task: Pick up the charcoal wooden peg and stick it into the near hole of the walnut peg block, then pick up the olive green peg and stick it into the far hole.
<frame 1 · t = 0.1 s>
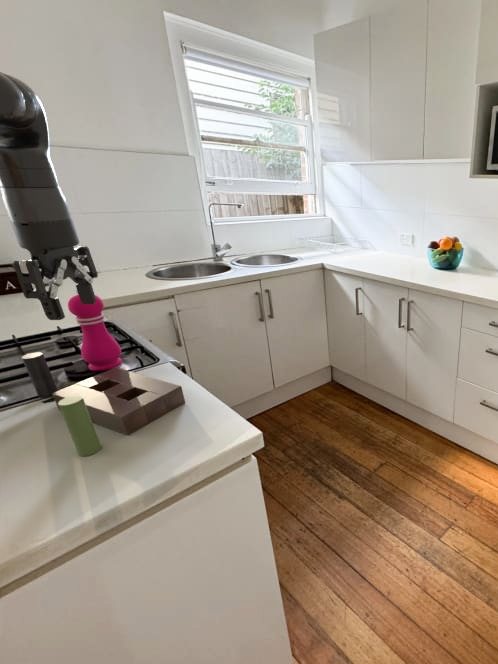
hand: (74, 311, 68), 20 cm above the worktop, tool pointing down, fingers open, 8 cm apart
charcoal peg: (50, 399, 78), on the worktop
peg block: (123, 406, 76), on the worktop
pepper mill: (107, 370, 90), on the worktop
green peg: (90, 450, 64), on the worktop
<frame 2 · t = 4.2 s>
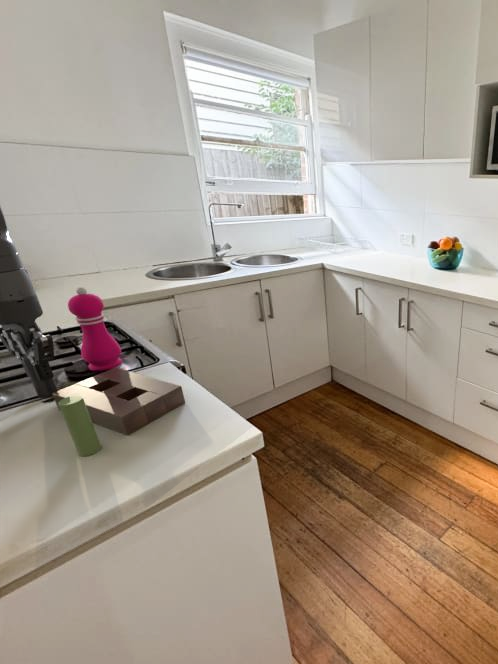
hand: (41, 377, 76), 5 cm above the worktop, tool pointing down, fingers closed on charcoal peg, 3 cm apart
charcoal peg: (50, 399, 78), on the worktop, touching gripper
everything else where it was.
when the fingers open (5 cm above the worktop, at t = 10.8 s): charcoal peg stays where it is, on the worktop.
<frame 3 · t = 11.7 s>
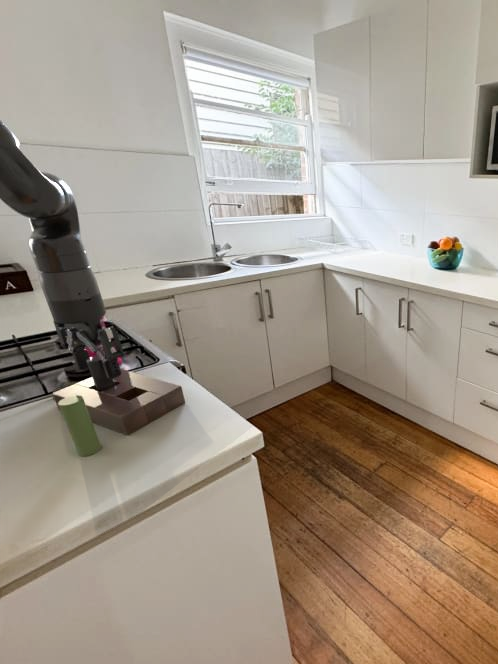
hand: (100, 372, 75), 7 cm above the worktop, tool pointing down, fingers open, 8 cm apart
charcoal peg: (111, 402, 77), on the worktop
everything else where it was.
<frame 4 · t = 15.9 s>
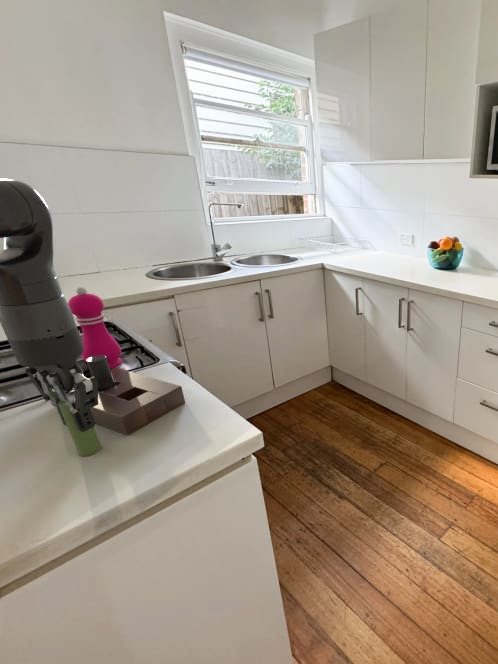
hand: (80, 425, 62), 5 cm above the worktop, tool pointing down, fingers closed on green peg, 3 cm apart
green peg: (90, 450, 64), on the worktop, touching gripper
everything else where it was.
when the fingers open (5 cm above the worktop, at t = 22.5 s): green peg stays where it is, on the worktop.
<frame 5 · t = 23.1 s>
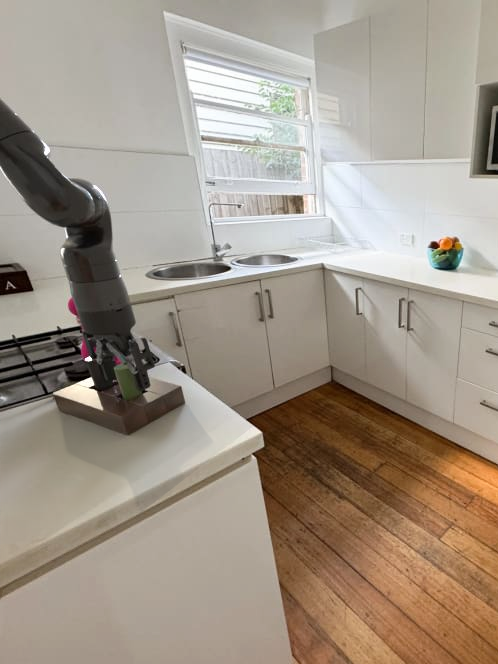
hand: (128, 384, 73), 6 cm above the worktop, tool pointing down, fingers open, 8 cm apart
charcoal peg: (111, 402, 77), on the worktop, touching gripper
green peg: (137, 411, 75), on the worktop
everything else where it was.
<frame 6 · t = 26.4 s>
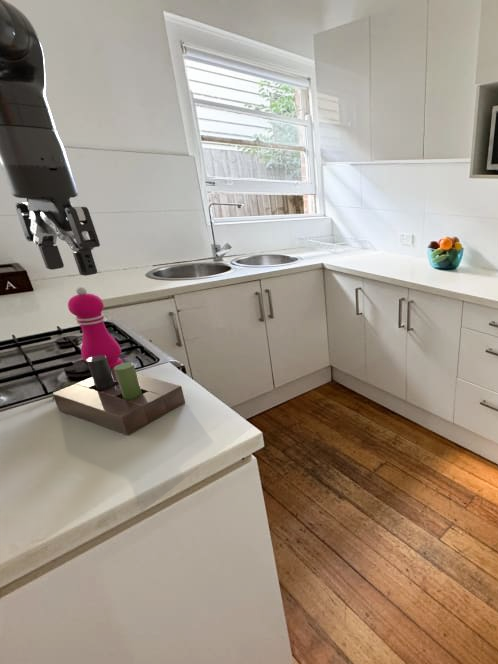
hand: (72, 271, 63), 28 cm above the worktop, tool pointing down, fingers open, 8 cm apart
charcoal peg: (111, 402, 77), on the worktop
everything else where it was.
at the end: charcoal peg 0.1 cm from the target spot in the peg block, point 0.0 cm above the peg block's base; green peg 0.0 cm from the target spot in the peg block, point 0.0 cm above the peg block's base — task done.
